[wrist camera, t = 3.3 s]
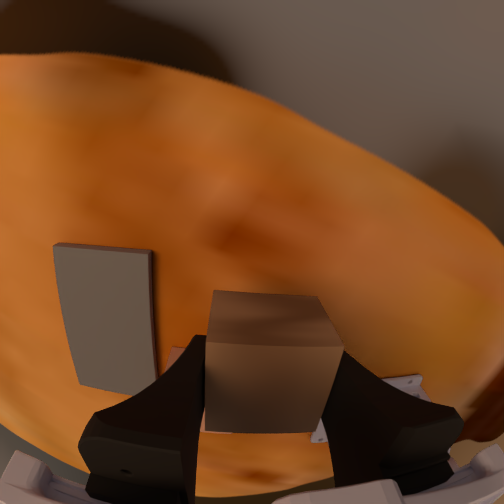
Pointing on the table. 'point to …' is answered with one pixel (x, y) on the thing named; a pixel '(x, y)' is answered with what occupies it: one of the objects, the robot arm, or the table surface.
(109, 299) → the baseplate
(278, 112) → the table surface
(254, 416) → the walnut brick
